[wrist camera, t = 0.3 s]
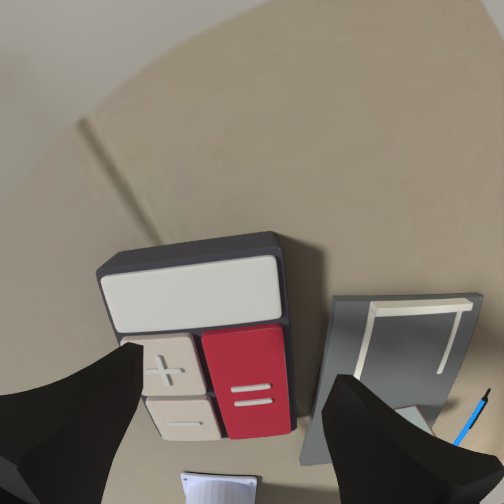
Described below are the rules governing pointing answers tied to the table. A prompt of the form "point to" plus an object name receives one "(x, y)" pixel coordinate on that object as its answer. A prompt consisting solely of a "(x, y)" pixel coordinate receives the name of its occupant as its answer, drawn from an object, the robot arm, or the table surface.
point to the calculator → (208, 334)
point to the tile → (415, 417)
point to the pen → (473, 418)
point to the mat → (393, 353)
